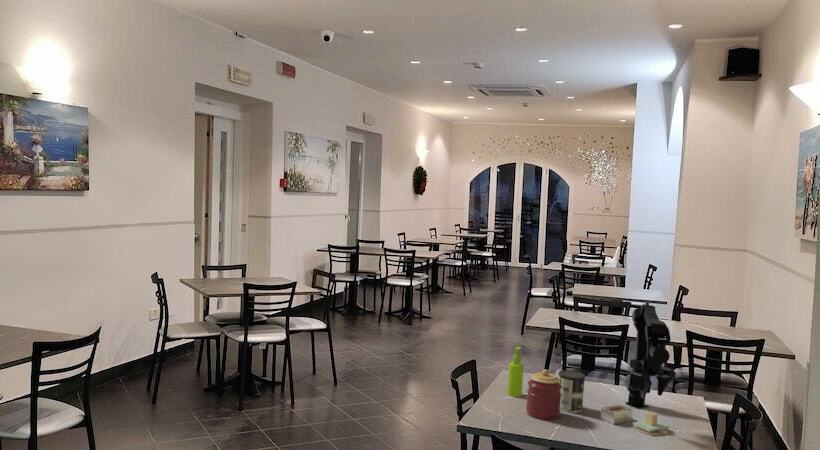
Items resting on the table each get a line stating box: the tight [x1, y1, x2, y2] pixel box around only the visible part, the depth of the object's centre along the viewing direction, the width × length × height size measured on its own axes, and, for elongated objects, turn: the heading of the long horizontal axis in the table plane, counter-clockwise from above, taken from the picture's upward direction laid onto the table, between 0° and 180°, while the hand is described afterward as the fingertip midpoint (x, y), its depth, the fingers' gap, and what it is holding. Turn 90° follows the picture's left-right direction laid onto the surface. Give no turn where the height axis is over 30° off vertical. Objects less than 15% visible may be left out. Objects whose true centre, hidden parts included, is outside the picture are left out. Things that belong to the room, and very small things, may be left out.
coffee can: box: [558, 369, 586, 414], centre depth 256 cm, size 10×10×14 cm
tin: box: [600, 404, 634, 426], centre depth 246 cm, size 10×6×4 cm, turn 120°
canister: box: [525, 369, 562, 420], centre depth 247 cm, size 13×13×18 cm
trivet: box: [633, 425, 669, 437], centre depth 238 cm, size 12×12×1 cm
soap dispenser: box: [507, 346, 525, 398], centre depth 270 cm, size 6×7×20 cm
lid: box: [632, 411, 670, 432], centre depth 238 cm, size 11×8×6 cm
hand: (651, 397), depth 239 cm, fingers open, 9 cm apart
